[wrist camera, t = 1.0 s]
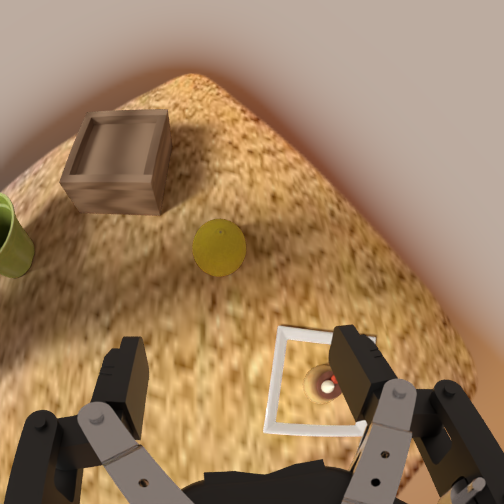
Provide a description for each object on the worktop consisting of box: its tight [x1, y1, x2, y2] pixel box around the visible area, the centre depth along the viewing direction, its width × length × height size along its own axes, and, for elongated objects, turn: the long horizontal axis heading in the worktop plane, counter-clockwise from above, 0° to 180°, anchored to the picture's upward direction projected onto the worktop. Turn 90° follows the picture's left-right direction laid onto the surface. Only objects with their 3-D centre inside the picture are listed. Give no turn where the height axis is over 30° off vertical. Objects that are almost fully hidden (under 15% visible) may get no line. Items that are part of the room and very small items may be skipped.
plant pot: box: [0, 193, 34, 278], centre depth 30 cm, size 9×9×9 cm
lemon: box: [192, 219, 246, 277], centre depth 33 cm, size 6×6×8 cm
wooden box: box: [59, 109, 172, 216], centre depth 36 cm, size 11×11×8 cm
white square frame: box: [263, 326, 376, 437], centre depth 31 cm, size 12×12×5 cm
